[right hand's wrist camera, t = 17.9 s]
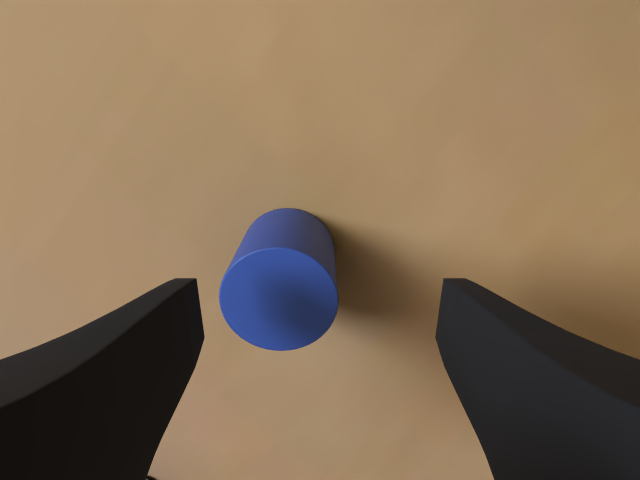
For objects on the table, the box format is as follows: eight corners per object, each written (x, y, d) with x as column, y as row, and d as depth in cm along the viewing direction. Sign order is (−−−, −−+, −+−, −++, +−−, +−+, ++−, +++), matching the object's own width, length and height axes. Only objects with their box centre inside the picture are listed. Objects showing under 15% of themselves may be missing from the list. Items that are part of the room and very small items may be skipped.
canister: (350, 235, 17) (361, 282, 13) (307, 304, 19) (303, 367, 14) (268, 191, 17) (249, 225, 12) (229, 266, 18) (200, 322, 14)
